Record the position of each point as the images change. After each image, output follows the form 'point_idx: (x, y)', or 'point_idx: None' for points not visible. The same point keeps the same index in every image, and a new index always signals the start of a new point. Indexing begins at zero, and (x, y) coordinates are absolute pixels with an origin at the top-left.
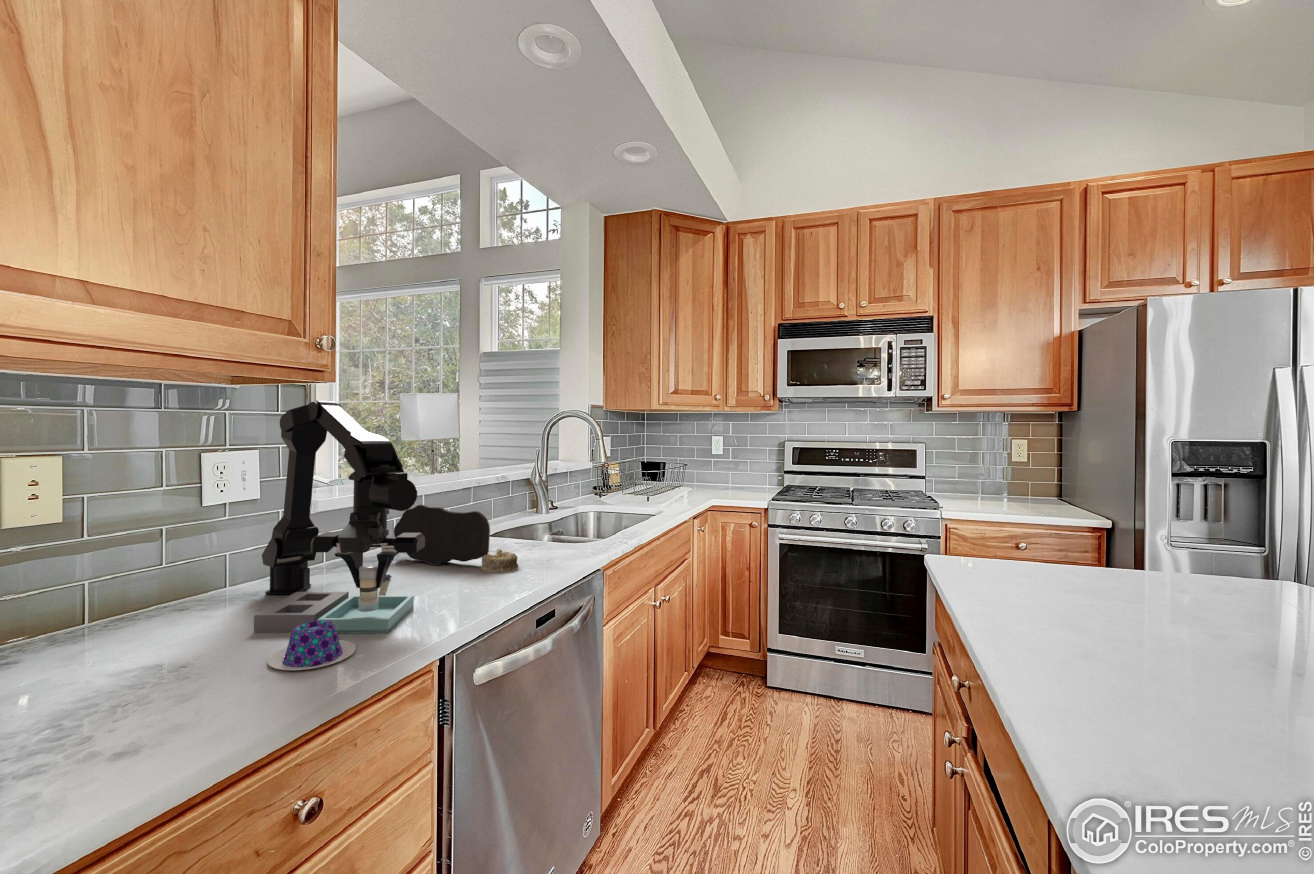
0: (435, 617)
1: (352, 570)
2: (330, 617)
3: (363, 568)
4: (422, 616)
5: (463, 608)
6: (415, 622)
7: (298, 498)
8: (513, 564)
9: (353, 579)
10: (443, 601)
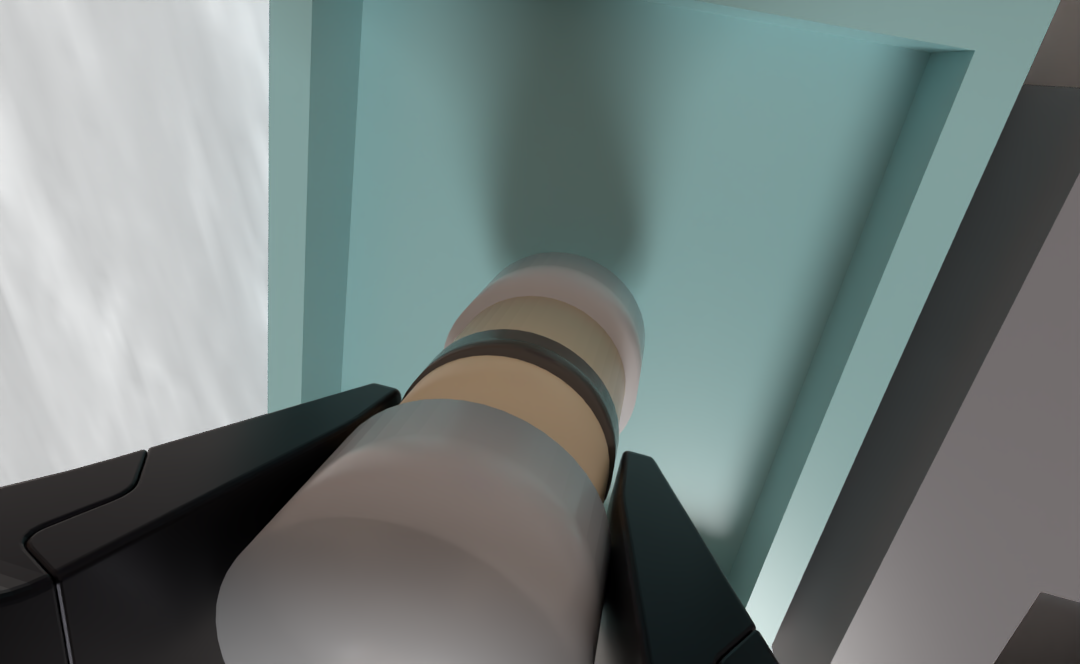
0: (115, 233)
1: (717, 636)
2: (894, 205)
3: (468, 585)
4: (207, 279)
5: (11, 374)
6: (213, 150)
7: None
8: None
9: (695, 528)
10: None
